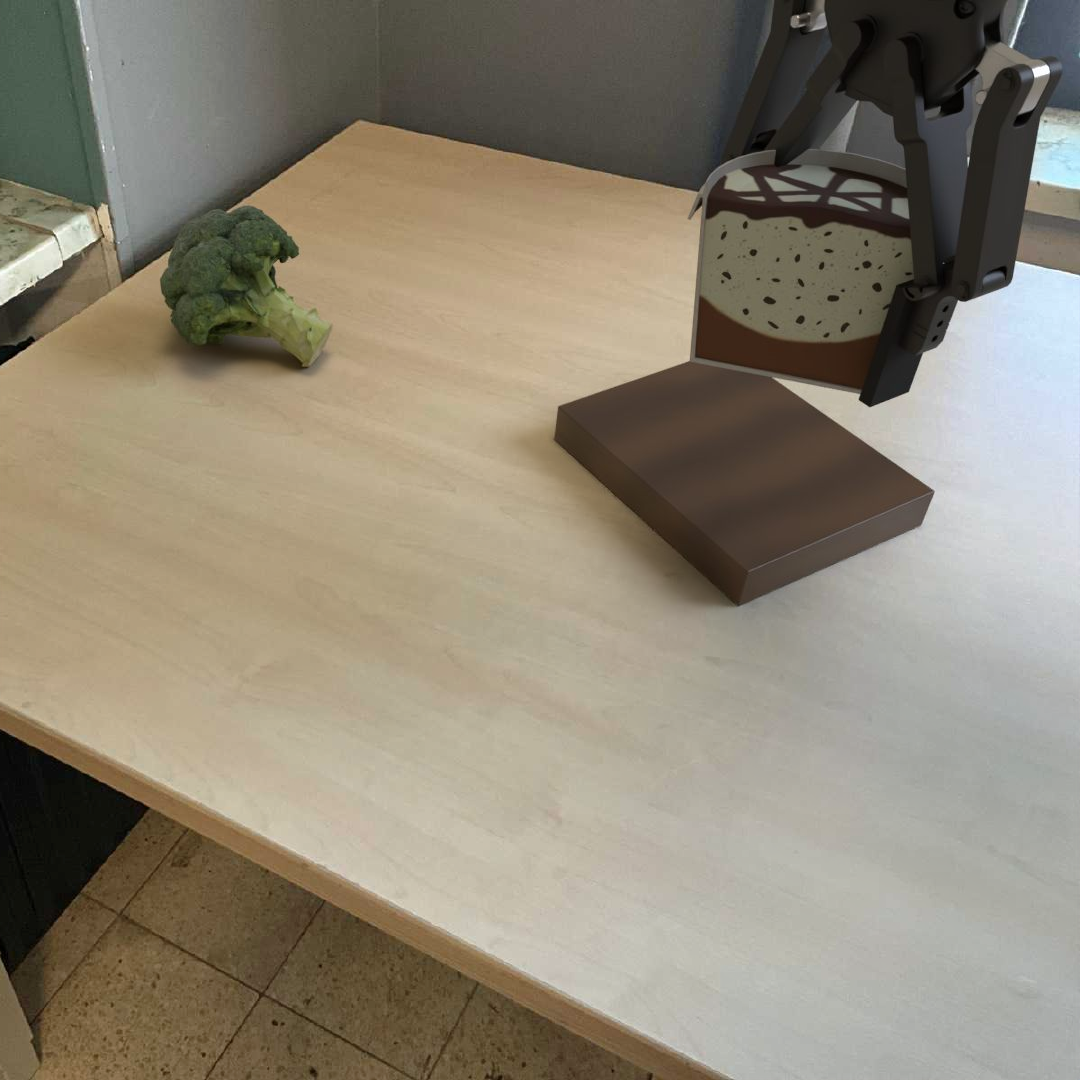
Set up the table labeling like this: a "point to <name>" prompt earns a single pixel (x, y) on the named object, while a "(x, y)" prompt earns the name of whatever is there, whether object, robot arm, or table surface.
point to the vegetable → (238, 284)
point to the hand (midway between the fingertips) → (814, 349)
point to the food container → (799, 265)
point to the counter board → (740, 474)
